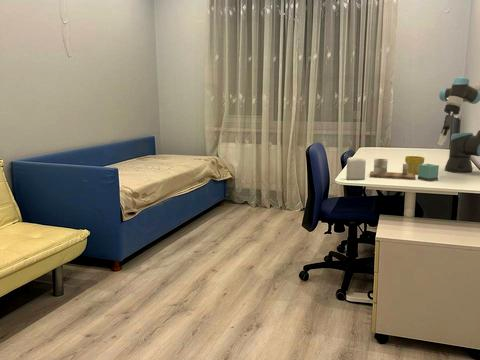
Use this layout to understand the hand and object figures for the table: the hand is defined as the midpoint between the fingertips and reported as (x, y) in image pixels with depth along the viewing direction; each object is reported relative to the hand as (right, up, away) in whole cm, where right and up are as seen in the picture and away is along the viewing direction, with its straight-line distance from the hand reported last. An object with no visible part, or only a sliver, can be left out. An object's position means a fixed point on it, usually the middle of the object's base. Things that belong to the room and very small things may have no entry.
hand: (441, 143), depth 237 cm
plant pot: (-7, -16, +21) cm, 27 cm away
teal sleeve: (-7, -19, +1) cm, 21 cm away
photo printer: (-46, -19, +3) cm, 50 cm away
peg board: (-23, -18, +10) cm, 31 cm away
